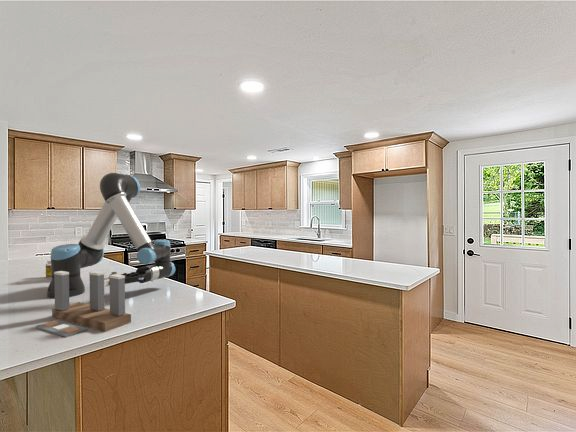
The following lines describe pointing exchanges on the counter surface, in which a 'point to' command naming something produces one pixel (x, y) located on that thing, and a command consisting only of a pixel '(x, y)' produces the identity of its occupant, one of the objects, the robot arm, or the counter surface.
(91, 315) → the brown wooden board
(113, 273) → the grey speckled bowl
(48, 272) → the supplement bottle
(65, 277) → the key inner
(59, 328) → the pattern card
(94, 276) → the key middle
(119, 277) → the key outer
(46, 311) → the counter surface
